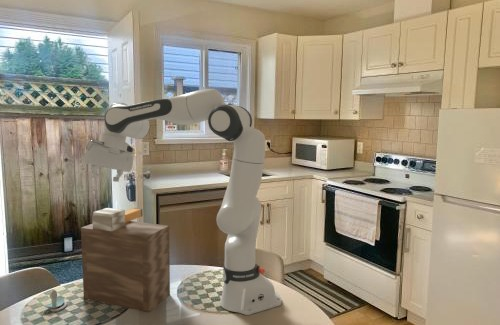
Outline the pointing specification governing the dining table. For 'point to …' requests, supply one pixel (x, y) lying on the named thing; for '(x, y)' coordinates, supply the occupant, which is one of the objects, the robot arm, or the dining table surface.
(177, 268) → the dining table surface
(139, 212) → the plug
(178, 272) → the dining table surface
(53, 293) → the pacifier
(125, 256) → the shelf stand
